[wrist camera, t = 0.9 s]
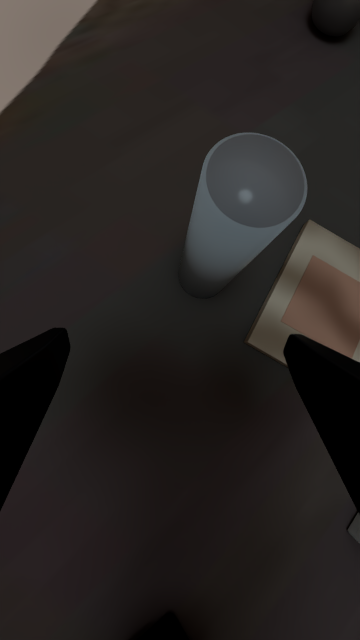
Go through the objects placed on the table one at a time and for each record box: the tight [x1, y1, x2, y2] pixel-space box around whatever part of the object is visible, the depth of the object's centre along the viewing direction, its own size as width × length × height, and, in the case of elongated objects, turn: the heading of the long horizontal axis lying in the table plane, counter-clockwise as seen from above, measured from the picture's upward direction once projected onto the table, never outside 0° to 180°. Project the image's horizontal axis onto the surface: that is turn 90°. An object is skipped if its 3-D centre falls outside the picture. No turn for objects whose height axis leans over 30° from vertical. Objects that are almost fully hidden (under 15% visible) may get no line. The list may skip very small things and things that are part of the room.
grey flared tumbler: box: [178, 133, 307, 298], centre depth 17 cm, size 5×5×13 cm
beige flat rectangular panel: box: [244, 220, 360, 368], centre depth 23 cm, size 15×12×1 cm
